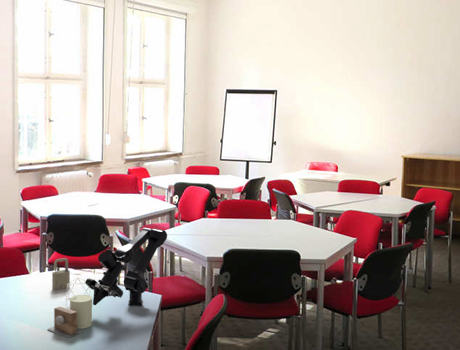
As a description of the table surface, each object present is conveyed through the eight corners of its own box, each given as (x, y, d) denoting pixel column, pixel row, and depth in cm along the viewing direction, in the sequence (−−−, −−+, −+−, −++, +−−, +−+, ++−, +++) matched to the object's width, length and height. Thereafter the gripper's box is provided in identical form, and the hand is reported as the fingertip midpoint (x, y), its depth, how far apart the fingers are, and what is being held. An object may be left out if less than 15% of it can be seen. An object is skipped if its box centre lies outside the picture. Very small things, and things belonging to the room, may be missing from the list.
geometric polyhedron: (91, 303, 272) (91, 284, 271) (67, 305, 269) (67, 285, 268) (89, 295, 284) (89, 276, 283) (66, 296, 281) (66, 278, 280)
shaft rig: (62, 324, 246) (62, 303, 245) (83, 331, 239) (84, 310, 238) (47, 330, 239) (47, 309, 238) (69, 338, 232) (69, 316, 231)
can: (70, 321, 250) (70, 294, 248) (92, 320, 252) (92, 293, 250) (69, 329, 241) (69, 301, 239) (92, 328, 243) (92, 300, 241)
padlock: (51, 288, 292) (51, 259, 290) (66, 285, 297) (66, 256, 295) (55, 290, 289) (55, 260, 287) (70, 287, 294) (70, 258, 292)
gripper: (136, 287, 259) (119, 318, 252) (106, 279, 269) (88, 308, 262) (124, 274, 252) (106, 306, 244) (93, 266, 262) (75, 296, 254)
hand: (94, 304), depth 251 cm, fingers closed
